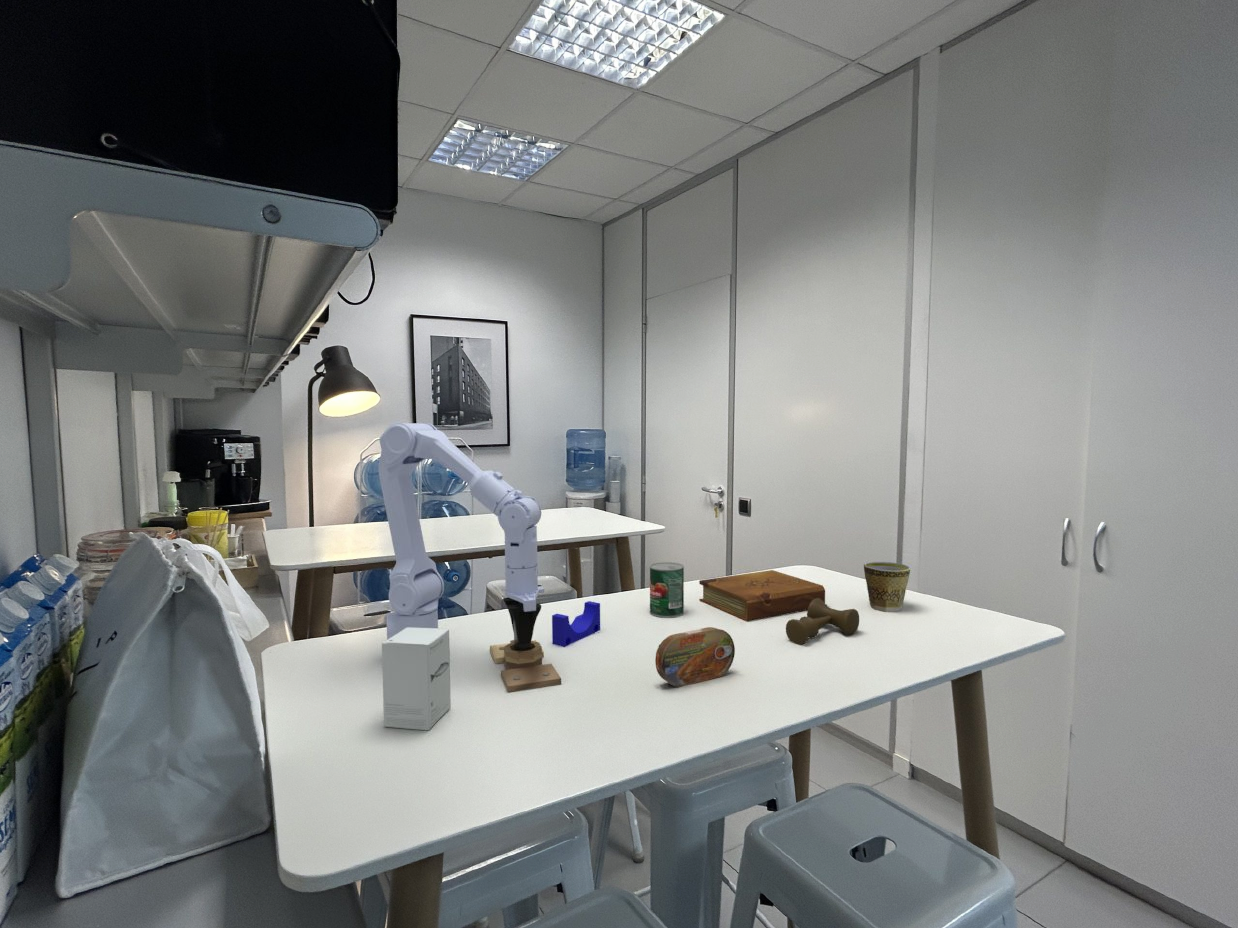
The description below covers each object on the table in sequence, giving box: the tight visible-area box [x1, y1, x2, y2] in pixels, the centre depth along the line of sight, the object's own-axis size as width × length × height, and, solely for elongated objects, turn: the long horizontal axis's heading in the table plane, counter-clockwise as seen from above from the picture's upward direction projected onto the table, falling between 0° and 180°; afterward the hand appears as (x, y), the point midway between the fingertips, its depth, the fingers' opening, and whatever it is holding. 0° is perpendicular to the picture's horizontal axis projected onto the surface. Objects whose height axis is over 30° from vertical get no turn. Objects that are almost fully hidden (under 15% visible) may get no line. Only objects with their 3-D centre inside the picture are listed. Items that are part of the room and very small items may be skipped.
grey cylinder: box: [513, 623, 531, 651], centre depth 112 cm, size 3×3×6 cm
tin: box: [654, 626, 736, 688], centre depth 106 cm, size 15×3×8 cm, turn 117°
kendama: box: [785, 598, 860, 646], centre depth 129 cm, size 6×10×20 cm
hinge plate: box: [500, 657, 562, 693], centre depth 109 cm, size 9×13×2 cm
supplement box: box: [381, 627, 452, 731], centre depth 92 cm, size 7×7×13 cm
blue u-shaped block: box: [551, 600, 601, 648], centre depth 128 cm, size 12×4×6 cm, turn 145°
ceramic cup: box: [863, 561, 911, 613], centre depth 147 cm, size 13×10×10 cm
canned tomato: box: [649, 561, 685, 619], centre depth 143 cm, size 8×8×11 cm
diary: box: [698, 569, 826, 622], centre depth 150 cm, size 23×19×6 cm
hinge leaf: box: [489, 639, 545, 665], centre depth 115 cm, size 9×13×4 cm
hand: (522, 639), depth 112 cm, fingers closed on grey cylinder, 3 cm apart
